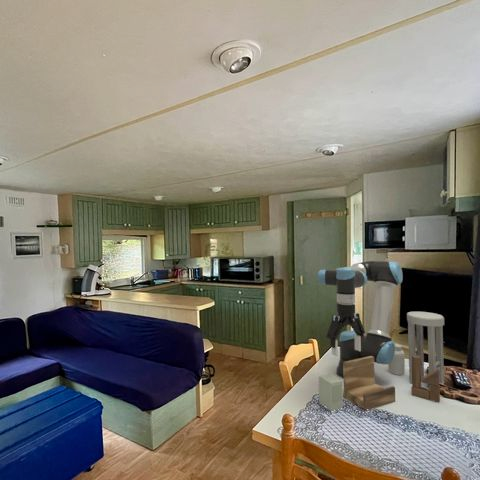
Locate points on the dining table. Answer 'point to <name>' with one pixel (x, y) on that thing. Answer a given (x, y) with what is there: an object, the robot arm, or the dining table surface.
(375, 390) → the wooden display stand
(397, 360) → the pill bottle
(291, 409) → the dining table surface
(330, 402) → the sage green upright block
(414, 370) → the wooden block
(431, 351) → the stool
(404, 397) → the dining table surface
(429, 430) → the dining table surface
